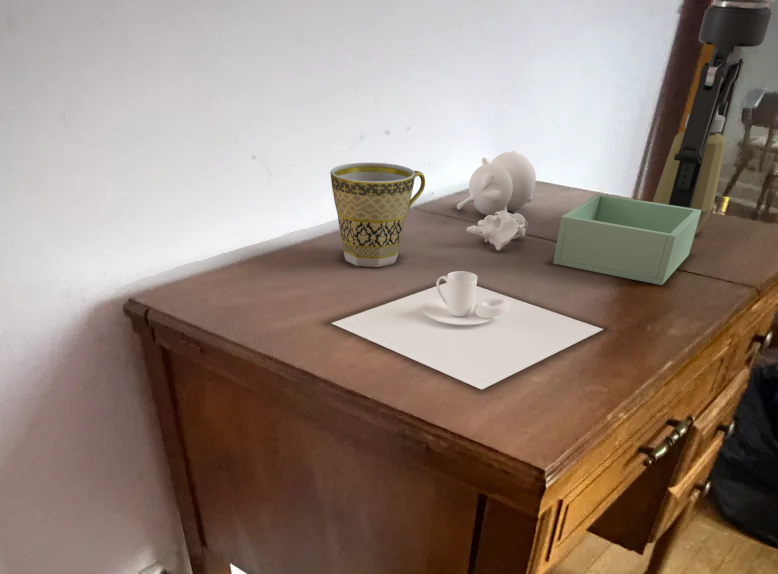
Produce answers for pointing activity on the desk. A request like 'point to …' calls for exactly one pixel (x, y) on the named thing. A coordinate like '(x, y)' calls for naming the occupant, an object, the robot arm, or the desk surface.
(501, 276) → the desk surface
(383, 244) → the ceramic cup
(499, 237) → the anatomical pelvis
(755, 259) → the desk surface
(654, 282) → the bin
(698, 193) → the squeeze bottle
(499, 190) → the cat figurine
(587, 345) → the desk surface
